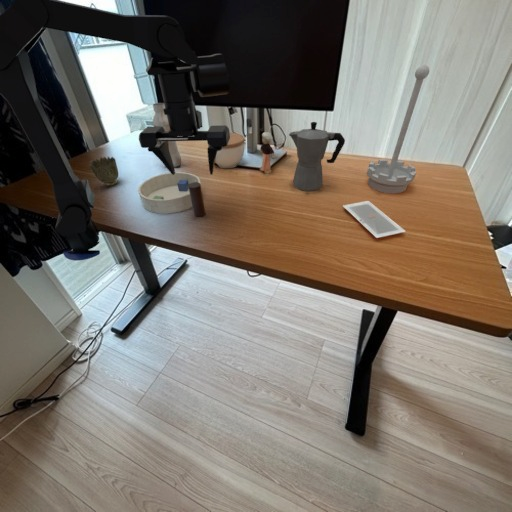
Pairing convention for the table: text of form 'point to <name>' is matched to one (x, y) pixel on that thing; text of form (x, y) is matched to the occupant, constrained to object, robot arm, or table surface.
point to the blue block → (183, 185)
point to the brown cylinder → (197, 199)
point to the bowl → (166, 193)
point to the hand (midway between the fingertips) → (192, 174)
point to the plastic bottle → (162, 121)
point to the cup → (105, 170)
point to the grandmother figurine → (266, 152)
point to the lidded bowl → (231, 152)
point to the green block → (158, 197)
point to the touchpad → (373, 219)
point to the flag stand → (397, 152)
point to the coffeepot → (313, 155)
